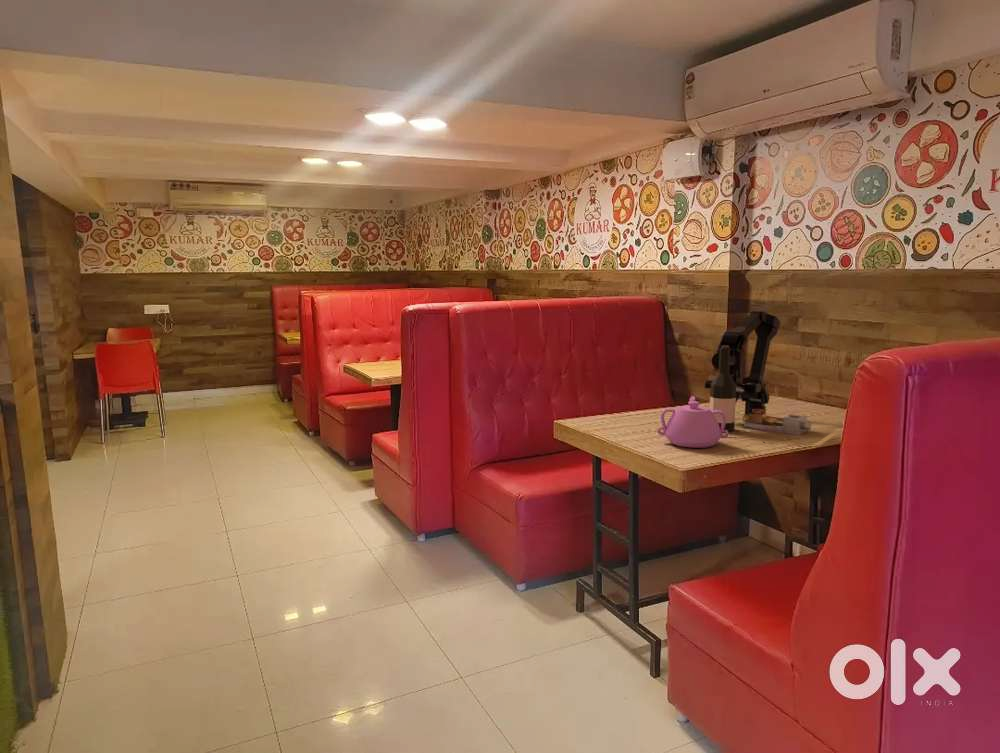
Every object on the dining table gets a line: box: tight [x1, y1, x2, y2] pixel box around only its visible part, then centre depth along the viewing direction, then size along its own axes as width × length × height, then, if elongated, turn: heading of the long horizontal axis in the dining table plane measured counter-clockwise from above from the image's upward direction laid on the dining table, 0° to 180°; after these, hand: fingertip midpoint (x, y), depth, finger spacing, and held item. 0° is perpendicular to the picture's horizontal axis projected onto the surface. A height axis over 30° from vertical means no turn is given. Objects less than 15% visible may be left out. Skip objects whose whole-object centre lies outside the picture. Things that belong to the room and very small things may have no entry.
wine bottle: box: [709, 346, 737, 433], centre depth 229 cm, size 8×8×30 cm
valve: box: [742, 409, 778, 426], centre depth 235 cm, size 11×5×6 cm, turn 49°
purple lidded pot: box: [657, 395, 730, 449], centre depth 218 cm, size 22×22×14 cm
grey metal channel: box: [740, 413, 812, 437], centre depth 232 cm, size 21×12×6 cm, turn 50°
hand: (731, 409), depth 242 cm, fingers closed
